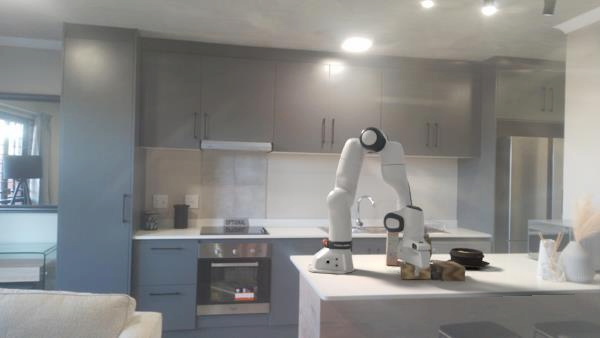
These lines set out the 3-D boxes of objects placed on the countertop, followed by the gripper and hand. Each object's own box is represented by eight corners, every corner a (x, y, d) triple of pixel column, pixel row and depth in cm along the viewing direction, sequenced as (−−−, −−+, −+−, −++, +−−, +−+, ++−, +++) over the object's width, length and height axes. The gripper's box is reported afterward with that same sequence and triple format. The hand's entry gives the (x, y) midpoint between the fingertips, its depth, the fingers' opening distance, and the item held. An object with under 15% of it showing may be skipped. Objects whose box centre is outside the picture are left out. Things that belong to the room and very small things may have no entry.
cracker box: (398, 266, 208) (399, 225, 208) (386, 265, 209) (386, 224, 209) (397, 260, 221) (398, 222, 222) (386, 260, 223) (386, 221, 223)
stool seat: (432, 280, 181) (432, 266, 181) (423, 273, 193) (423, 261, 193) (465, 280, 181) (465, 267, 181) (453, 274, 193) (453, 261, 193)
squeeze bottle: (429, 262, 219) (430, 228, 219) (414, 260, 223) (415, 227, 223) (433, 260, 225) (434, 227, 226) (418, 258, 230) (419, 226, 230)
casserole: (461, 272, 198) (461, 255, 198) (434, 264, 215) (434, 248, 215) (499, 269, 207) (499, 252, 208) (470, 261, 224) (470, 246, 225)
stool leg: (434, 277, 185) (435, 263, 185) (437, 278, 183) (437, 264, 183) (400, 277, 183) (400, 263, 183) (402, 278, 180) (402, 265, 180)
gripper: (394, 238, 190) (393, 268, 190) (420, 247, 171) (419, 280, 171) (405, 238, 192) (404, 268, 192) (433, 246, 173) (432, 279, 173)
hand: (412, 274), depth 181 cm, fingers open, 5 cm apart
